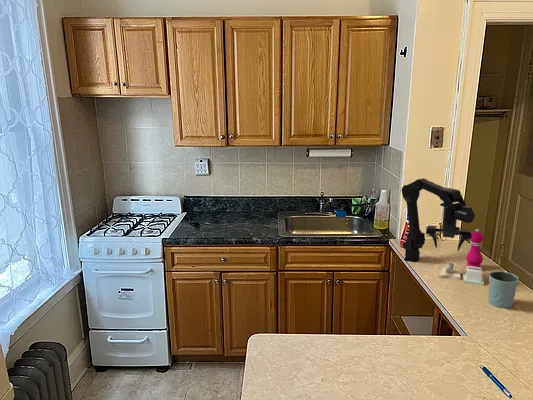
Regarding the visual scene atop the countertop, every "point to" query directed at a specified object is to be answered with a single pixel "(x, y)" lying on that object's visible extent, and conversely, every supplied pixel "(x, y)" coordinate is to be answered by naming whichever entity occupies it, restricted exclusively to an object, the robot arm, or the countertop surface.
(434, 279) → the countertop surface
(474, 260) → the pepper mill
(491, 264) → the countertop surface
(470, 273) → the white cabinet cube
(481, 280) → the pad
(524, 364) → the countertop surface
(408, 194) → the robot arm
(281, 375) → the countertop surface
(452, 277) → the post base
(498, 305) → the teal plant pot
